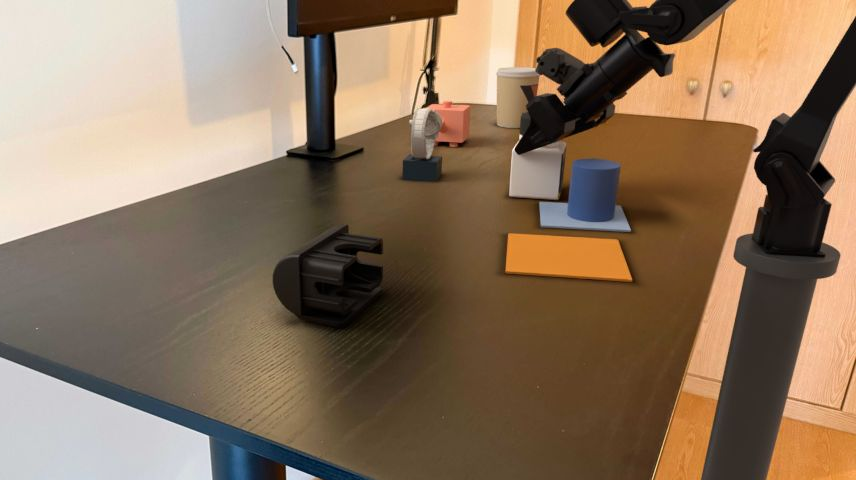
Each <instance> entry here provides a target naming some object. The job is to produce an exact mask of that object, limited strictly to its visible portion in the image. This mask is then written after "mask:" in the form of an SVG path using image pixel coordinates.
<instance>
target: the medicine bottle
mask: <svg viewBox="0 0 856 480" xmlns="http://www.w3.org/2000/svg"><path fill="white" fill-rule="evenodd" d="M529 124H530V115H529V114H528V112H525V113H523V114H522V115H521V120H520V128H519V136H518V139H519V140H518V141H517V142H516V143H515V145H514V147H513V148H512V149H511V162H510V176H509V188H508V189H509V191H508V195H509V197H510V198H521V199H536V200H537V199H538V200H551V201H559V199H560V197H561V193H562V190H563V185H564V175H565V165H566V155H567V142H565V141H563V140H560V141H558V142H555V143H552V144H549V145H546V146H543V147H541V148H538V149H535V150H532V151H529V152H526V153H524V154H521V155H518V154H517V153H516V152H515V150H514V149H515V147H516V145H517V144H518V142H519V141H520V139H521V137H522V136H523V134H524V133H525V131H526V129H527V127H528V126H529Z"/></svg>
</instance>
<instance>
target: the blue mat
mask: <svg viewBox="0 0 856 480" xmlns="http://www.w3.org/2000/svg"><path fill="white" fill-rule="evenodd" d="M538 204H539V205H538V206H539V221H540V228H543V229H547V228H548V229H562V230H563V229H564V230H565V229H566V230H581V231H583V230H584V231H600V232H616V233H617V232H618V233H620V232H621V233H632V229H631V226H630V224H629V222H628V220H627V217H626V215H625V213H624V210H623V208H622V205H618V204H616V206H615V213H614V218H613V219H612V220H609V221H604V222H587V221H581V220H576V219H573V218H571V217H569V216H568V215H567V209H568V202H551V201H539V203H538Z"/></svg>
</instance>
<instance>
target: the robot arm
mask: <svg viewBox="0 0 856 480" xmlns="http://www.w3.org/2000/svg"><path fill="white" fill-rule="evenodd" d="M736 1H737V0H655V1H654V2H653V3H651V5H650V6H646V5H645V6H633V5H632V4H631V3H630V2H629V1H628V0H572V2H571V3H570V4H569V6H568V7H567V8H566V10H565V16H566V17H567V19H568V20H569V21H570V22H571V24H573V26H574V27H575V28H576V29H577V31H578V32H579V34H580V35H581V36H582V38H583V39H584V40H585V41H586V42H587V44H589V46H590V47H592V48H593V47H596V46H598V45H600V46H601V48H602V49H603V48H607V47H608V46H610V45H611V44H613V43H614V44H613V45H612V46H611V47H610V48H608V49H607V50H606V51H605V52H604V53H603V54H602V55H601V56H600V57H599V58H597V59H596V60H595V61H594V62H591V63H588V62H587V63H585V62H583V60H581V59H579V58H578V57H576V56H574V55H572V54H570V53H569V52H567V51H566V50H564V49H562V48H560V47H551V48H546V49H545V50H544V51H542V53H541V55H540V56H537V57H536V60H535V61H536V63H537V66H536V67H535V68H536V69H535V71H536V72H537V73H538V74H539V75H540V76H543V77H545V78H547V79H548V80H550V81H552V82H554V83H555V84H558V85H559V86H558V87H556V91H557V92H558V93H559V94H560V96H562V97H564V98H563V100H562V99H560V97H559V96H558V95H557V94H556V93H549V92H546V93H542V94H537V96H535V97H534V98H533V99H532V100H531V101H530V102H529V103H528V104H527V105H526V110H527V111H528V114H529V115H530V124H529V126H528V127H527V129H526V131H525V133H524V134H523V136H522V137H521V139H519V140H520V141H519V140H518V141H519V142H518V141H517V142H518V144H517V143H516V144H517V145H516V144H515V145H516V147H515V146H514V147H515V149H514V150H515V152H516V153H517V154H518V155H521V154H524V153H526V152H529V151H532V150H535V149H538V148H541V147H543V146H546V145H549V144H552V143H555V142H558V141H560V140H562V141H563V140H564V139H566V138H569V137H572V136H575V135H577V134H581V133H583V132H586V131H589V130H591V129H594V128H597V127H598V126H600V125H603V124H605V123H606V122H608V121H609V120H610V119H611V118H613V117H614V116H615V112H616V105H615V104H614V103H615V102H616V101H619V100H622V99H623V98H625V97H626V95H628V91H629V90H630V89H631V88H632V87H634V86H635V85H636V84H637V83H638V82H639V81H641V80H642V79H643V78H645V77H646V76H647V75H648V74H649V73H650V72H651V71H652V70H653V71H654V72H655V74H656V75H657V76H658V77H659V78H665V77H667V76H670V75H672V74H673V72H674V60H675V57H676V54H675V53H673V52H672V53H666V52H664V51H663V50H662V48H661V47H660V46H659V45H661V46H672V45H676V44H677V45H678V44H682V43H687V42H689V41H691V40H693V39H695V38H696V37H698V36H699V35H700V34H701V33H702V32H704V31H705V30H706V29H707V28H709V26H711V25H713V23H714V22H715V21H716V20H717V19H719V18H720V17H721V16H722V15H723V14H724V13H725V12H726V11H727V9H729V7H731V6H732V5H733V4H734V3H735V2H736ZM640 32H641V33H640ZM642 33H646V34H647V36H648V37H644V36H643V35H642ZM623 34H624V35H623ZM621 36H622V37H621ZM620 37H621V38H620ZM615 41H616V42H615ZM855 88H856V15H855V16H854V18H853V19H852V22H850V24H849V26H848V28H847V30H846V32H845V33H844V34H843V36H842V38H841V39H840V41H839V42H838V45H837V46H836V48H835V49H834V50H833V53H832V54H831V55H830V57H829V60H827V62H826V64H825V66H824V67H823V69H822V70H821V72H820V74H819V75H818V77H817V79H816V80H815V82H814V84H813V86H811V88H810V90H809V92H808V93H807V95H806V97H805V99H804V100H803V101H802V103H801V105H800V106H799V107H798V108H797V110H796V111H795V112H794V113H793V114H792V115H791V116H790V115H788V114H787V113H785V112H782V113H781V114H779V115H777V116H776V117H774V118H773V119H772V120H771V121H770V124H769V126H768V128H767V131H766V134H765V136H764V139H763V140H762V141H761V142H760V143H759V145H757V146H756V147H755V148H754V149H753V150H752V151H753V153H758V154H757V155H756V157H755V160H754V163H753V170H754V173H755V175H756V178H757V179H758V180H759V182H760V183H761V184H762V185H764V186H765V188H766V193H767V194H765V197H764V202H763V206H759V207H758V208H757V211H756V212H757V213H756V218H755V222H754V226H753V231H752V233H753V235H752V239H753V240H754V241H755V242H756V243H757V245H758V246H759V247H760V248H761V249H762V250H763V251H764V253H766V254H771V255H788V256H805V257H822V258H824V257H825V256H826V253H825V252H824V251H823V250H822V249H821V245H822V242H823V240H824V237H825V233H826V229H827V225H828V220H829V217H830V213H831V210H832V209H831V208H832V205H833V203H831V202H830V201H828V200H827V199H826V198H825V197H826V195H827V194H828V193H829V191H830V190H831V189H832V187H833V186H834V184H835V183H836V178H835V177H834V176H833V175H832V174H831V173H830V171H829V170H828V169H827V167H826V166H825V165H824V164H823V163H822V162H821V161H820V160H821V158H822V156H823V152H824V150H825V148H826V145H827V144H828V140H829V138H830V135H831V133H832V130H833V128H834V125H835V121H836V118H837V117H838V114H839V113H840V111H841V110H842V108H843V107H844V105H845V103H846V102H847V100H848V99H849V98H850V96H851V94H852V93H853V92H854V90H855ZM560 142H561V141H560Z"/></svg>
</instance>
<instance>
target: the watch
mask: <svg viewBox="0 0 856 480" xmlns="http://www.w3.org/2000/svg"><path fill="white" fill-rule="evenodd" d="M408 123H409V126H410V125H411V137H410V145H411V146H410V151H411V154H408V155H407V156H406V157H405V158H403V159H402V180H407V181H423V182H424V181H425V182H437V181H438V180H439V179H440V178H441V177H442V175H443V173H442V172H443V156H442V155H441V156H440V155H433V152H434V148H435V146H434V143H435V139H437V137H438V134H439V131H440V128H441V126H442V118H441V116H440V114H439V113H437V112H436V111H435V110H432V109H428V108H426V107H423V108H416V109H415V110H414V112H413V116H412V119H410V120H409V122H408Z"/></svg>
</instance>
